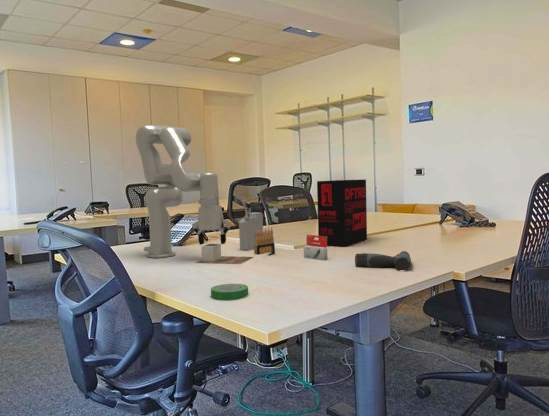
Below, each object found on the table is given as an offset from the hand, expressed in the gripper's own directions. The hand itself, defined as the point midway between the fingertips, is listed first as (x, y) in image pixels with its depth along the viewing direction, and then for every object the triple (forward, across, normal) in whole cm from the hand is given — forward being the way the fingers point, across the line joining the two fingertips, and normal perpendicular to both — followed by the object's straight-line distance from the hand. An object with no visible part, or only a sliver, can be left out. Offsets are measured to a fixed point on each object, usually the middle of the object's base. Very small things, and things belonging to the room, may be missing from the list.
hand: (212, 243), depth 188 cm
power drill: (+10, +69, +4) cm, 70 cm away
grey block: (+7, -1, 0) cm, 7 cm away
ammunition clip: (+8, +16, +19) cm, 27 cm away
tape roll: (+10, +27, -48) cm, 56 cm away
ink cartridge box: (+9, +40, +14) cm, 43 cm away
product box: (+9, +45, +60) cm, 76 cm away
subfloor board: (+8, +5, 0) cm, 9 cm away
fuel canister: (+8, +3, +36) cm, 37 cm away
